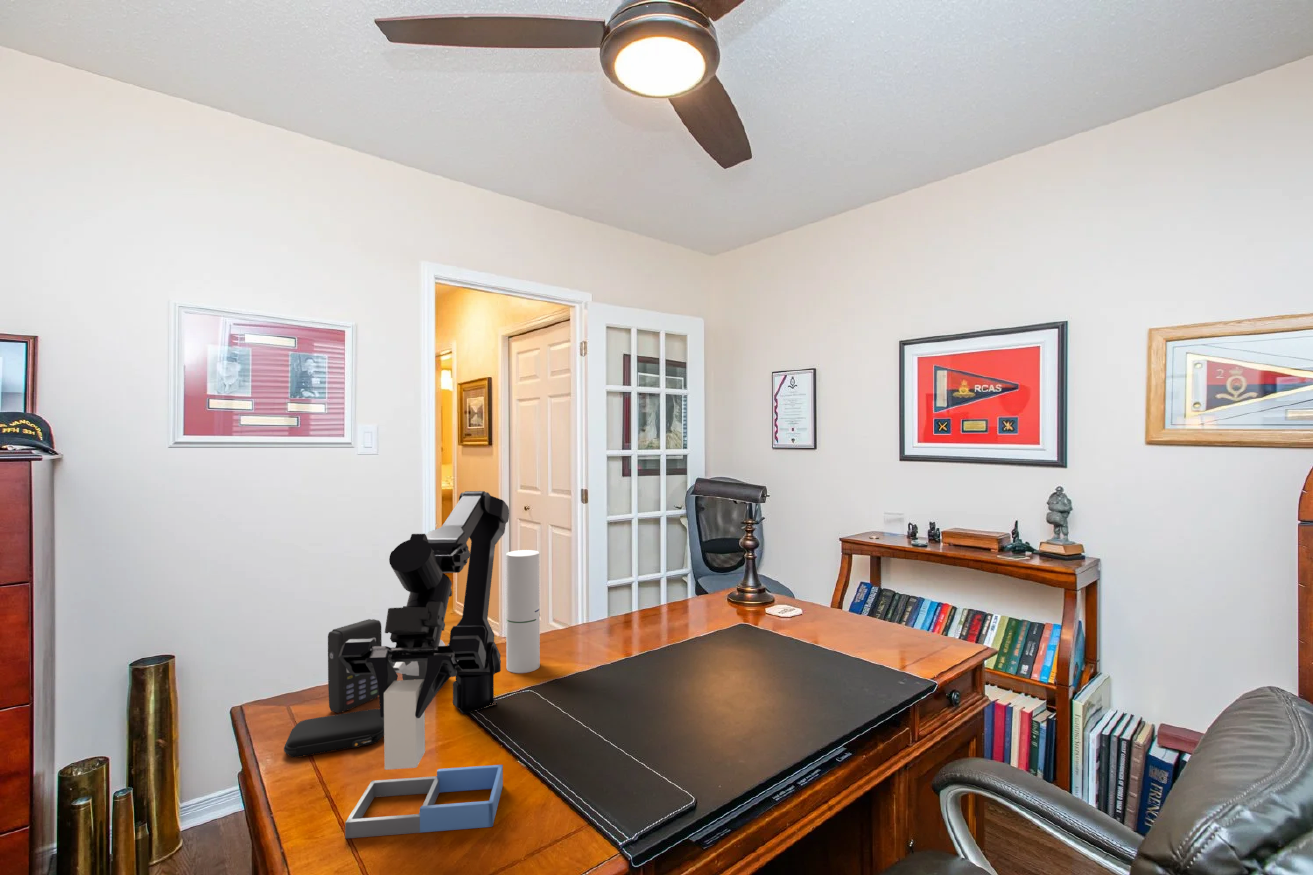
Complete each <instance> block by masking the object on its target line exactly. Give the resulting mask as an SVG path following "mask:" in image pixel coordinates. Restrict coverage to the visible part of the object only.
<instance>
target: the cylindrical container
mask: <svg viewBox="0 0 1313 875" xmlns="http://www.w3.org/2000/svg"><path fill="white" fill-rule="evenodd" d="M505 589H506V590H505V594H506V595H505V597H506V598H505V601H506V602H505V605H506V607H505V610H506V612H505V614H506V615H505V617H506V618H505V620H506V622H505V624H506V628H505V629H506V635H505V636H506V639H505V640H506V643H505V644H506V645H505V646H506V648H505V650H506V670H507V671H508V672H510V673H513V674H526V673H530V672H534V671H536V670H538V669H539V668H540V666H541V665H540V664H541V656H540V655H541V654H540V653H541V652H540V651H541V650H540V649H541V647H540V645H541V642H540V641H541V640H540V639H541V637H540V636H541V634H540V633H541V632H540V631H541V630H540V629H541V627H540V624H541V623H540V622H541V621H540V620H541V619H540V602H541V601H540V551H538V550H534V549H519V550H518V549H517V550H512V551H508V552H506V553H505Z"/></svg>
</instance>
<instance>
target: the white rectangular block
mask: <svg viewBox="0 0 1313 875" xmlns="http://www.w3.org/2000/svg"><path fill="white" fill-rule="evenodd" d="M423 682H424V679H417V680H415V679H414V680H403V679H399V680H398V679H397V681H393V683H392V684H391V685H390V686H389V687H388V689H387V690H386V691H385V692H384V736H383V737H384V738H383V742H384V744H383V745H384V749H383V750H384V752H383V754H384V756H383V757H384V770H388V771H389V770H399V769H414V768H415V769H416V768H417V767H418V766H419V763H420V762H421V760H422V759H423V756H424V755H425V753H426V731H425V730H426V725H425V724H426V722H425V720H426V719H425V718H426V716H425V715H426V714H425V713H426V712H425V711H426V710H425V711H424V713H423V714H422V716H421V717H420V718H416V716H415V713H416V707H417V702H418V699H419V695H420V692H421V688H422V685H423Z"/></svg>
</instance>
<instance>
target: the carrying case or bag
mask: <svg viewBox="0 0 1313 875" xmlns="http://www.w3.org/2000/svg"><path fill="white" fill-rule="evenodd" d="M287 737H288V738H287V740H286V742H285V744H284V746H283V752H284V753H285V754H286V755H288V756H289V757H291V758H299V757H307V756H312V755H318V754H323V753H329V752H335V751H340V750H346V749H351V748H354V749H355V748H358V747H362V746H368V745H372V744H375V743H378V742H380V741H381V739H382V738H383V737H384V720H382V718H381V716H380V708H370V709H363V710H359V711H351V712H343V713H337V714H331V715H326V716H321V717H320V716H319V717H315V718H314V717H313V718H308V719H303V720H301V721H298V722H297V723H296V725H295V726H294V727H293V728H292V729H291V731H290V733H289V735H288V736H287Z"/></svg>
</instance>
